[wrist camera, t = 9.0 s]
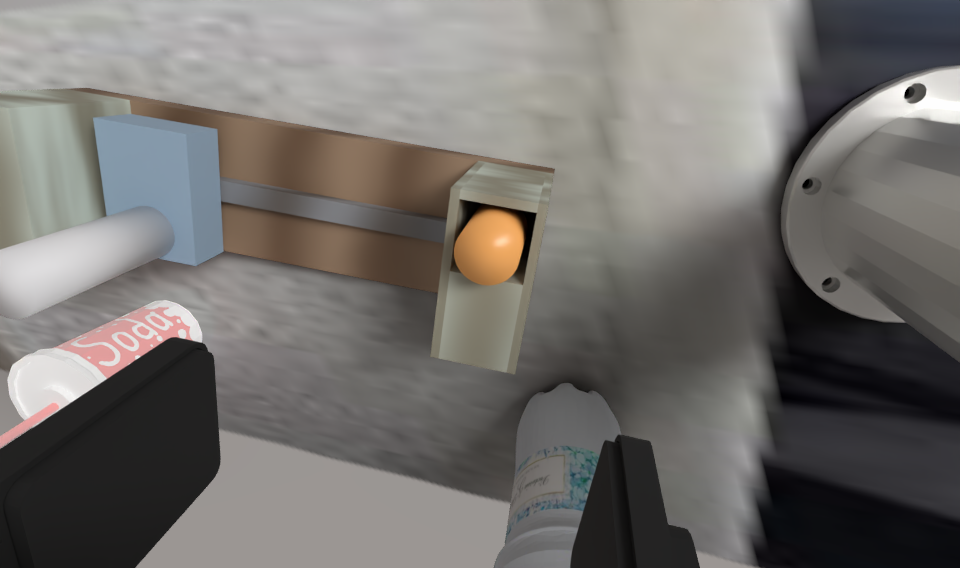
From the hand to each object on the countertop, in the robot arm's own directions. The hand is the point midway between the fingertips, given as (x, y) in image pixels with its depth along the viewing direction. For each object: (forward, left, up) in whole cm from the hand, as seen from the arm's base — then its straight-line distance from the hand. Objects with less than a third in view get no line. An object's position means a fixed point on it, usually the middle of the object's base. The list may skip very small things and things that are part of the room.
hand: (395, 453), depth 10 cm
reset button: (0, 0, -16) cm, 16 cm away
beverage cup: (+22, +14, -22) cm, 34 cm away
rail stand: (+12, +2, -22) cm, 25 cm away
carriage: (+19, +2, -19) cm, 27 cm away
